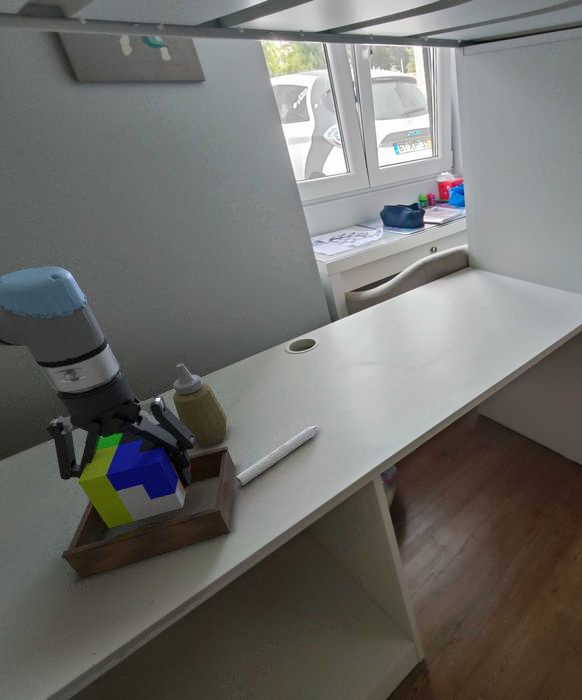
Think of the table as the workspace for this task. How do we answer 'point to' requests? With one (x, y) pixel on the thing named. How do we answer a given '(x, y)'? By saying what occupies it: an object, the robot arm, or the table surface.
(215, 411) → the squeeze bottle
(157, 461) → the puzzle toy
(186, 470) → the robot arm
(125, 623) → the table surface
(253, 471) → the marker
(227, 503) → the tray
